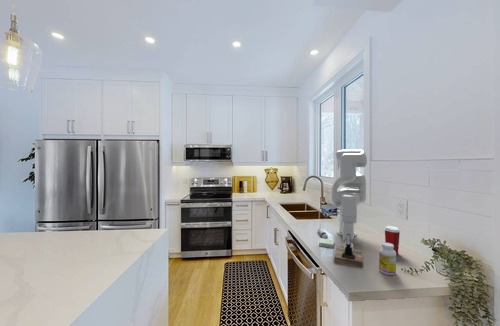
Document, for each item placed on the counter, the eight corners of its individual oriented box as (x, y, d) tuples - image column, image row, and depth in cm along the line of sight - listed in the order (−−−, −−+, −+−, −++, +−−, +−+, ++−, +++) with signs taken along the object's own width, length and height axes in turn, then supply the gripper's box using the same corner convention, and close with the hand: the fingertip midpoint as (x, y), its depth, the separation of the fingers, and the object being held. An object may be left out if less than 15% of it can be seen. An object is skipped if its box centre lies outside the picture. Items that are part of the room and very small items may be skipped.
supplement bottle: (375, 268, 105) (376, 241, 105) (389, 268, 105) (389, 241, 105) (385, 276, 98) (385, 247, 98) (399, 275, 99) (399, 246, 99)
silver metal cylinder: (344, 251, 119) (344, 242, 119) (353, 252, 117) (353, 243, 117) (343, 254, 115) (343, 244, 115) (353, 256, 113) (353, 246, 113)
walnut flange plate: (336, 250, 126) (336, 245, 126) (362, 254, 121) (362, 249, 121) (334, 262, 112) (334, 256, 112) (362, 267, 106) (362, 261, 106)
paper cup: (397, 251, 125) (398, 226, 125) (402, 256, 118) (402, 230, 118) (382, 249, 128) (382, 225, 128) (385, 254, 121) (385, 229, 121)
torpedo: (329, 240, 143) (329, 230, 143) (322, 240, 143) (322, 230, 143) (322, 231, 161) (322, 222, 161) (315, 231, 161) (315, 222, 161)
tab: (321, 241, 140) (321, 238, 140) (334, 243, 137) (334, 240, 137) (319, 245, 133) (319, 242, 133) (333, 248, 130) (333, 244, 130)
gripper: (341, 214, 125) (341, 246, 125) (340, 221, 109) (339, 258, 110) (356, 215, 121) (356, 248, 122) (356, 223, 106) (356, 261, 106)
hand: (348, 252), depth 116 cm, fingers closed on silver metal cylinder, 4 cm apart
